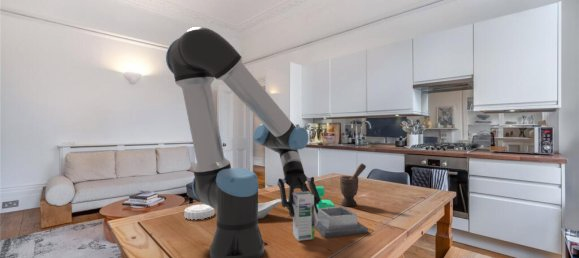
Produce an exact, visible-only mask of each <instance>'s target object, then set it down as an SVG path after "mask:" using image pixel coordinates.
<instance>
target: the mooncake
mask: <svg viewBox="0 0 579 258" xmlns="http://www.w3.org/2000/svg"><path fill="white" fill-rule="evenodd" d="M215 210H216V209H215V208H213V207H211V206H209V205H206V204H204V203H200V204H193V205H190V206H188V207H185V208H184V211H183V212H184V213H183V214H184V215H183V216H184V218H185V219H186V218H187V219H186V220H190V219H191V221H198V220H197V219H201V220H205V219H204V218H207V217H210V218H212V217H214V216H215V214H216V213H215ZM211 216H212V217H211ZM193 219H195V220H193ZM207 219H208V218H207Z"/></svg>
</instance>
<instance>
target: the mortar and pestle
mask: <svg viewBox="0 0 579 258" xmlns="http://www.w3.org/2000/svg"><path fill="white" fill-rule="evenodd" d="M366 167H367V165H365V164H364V163H360V164H359V165H358V167H357V169H356V170H355V171H354V174H353V175H342V176H340V177H339V187H340V188H339V189H340V192H341V194H342V196H343V199H342V200H341V201H340V205H341V206H343V207H357V205H358V204H357V201H356V200H355V198H354V197H355V196H357V194H358V191H359V176H360V175H361V174H362V173H363V172H364V170H365V169H366Z"/></svg>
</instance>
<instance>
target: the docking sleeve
mask: <svg viewBox="0 0 579 258" xmlns="http://www.w3.org/2000/svg"><path fill="white" fill-rule="evenodd" d="M317 209H318V213H317V217H318V221H319V222H318V224H317V225H315V226H314V230H316V231H317V232H318V233H319V234H320V235H321V236H322V237H323V238H325V239H327V238H333V237H334V238H335V237H336V238H337V237H342V236H350V235H351V236H352V235H359V234H366V233H368V232H369V228H368V227H367V226H365V225H364V224H362V223H360V222H359V221H358V220H359V219H358V216H359V215H358V214H356V213H355V212H353V211H351V210H350V209H348V208H346V206H343V205H341V206H336V207H329V208H317Z"/></svg>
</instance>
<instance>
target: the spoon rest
mask: <svg viewBox="0 0 579 258" xmlns="http://www.w3.org/2000/svg"><path fill="white" fill-rule="evenodd" d="M286 199H287V202H288V199H289V198H286ZM280 204H282V201H281V198H277V199H273V200H271V201H267V202H266V201H265V202H260V203H259V202H258V220H260V219H264V218H265V217H266V216H267V215H268V214H269V213H270V212H271V211H272V210H273V209H274V208H275V207H277V205H280ZM292 205H293V204H292Z"/></svg>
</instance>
